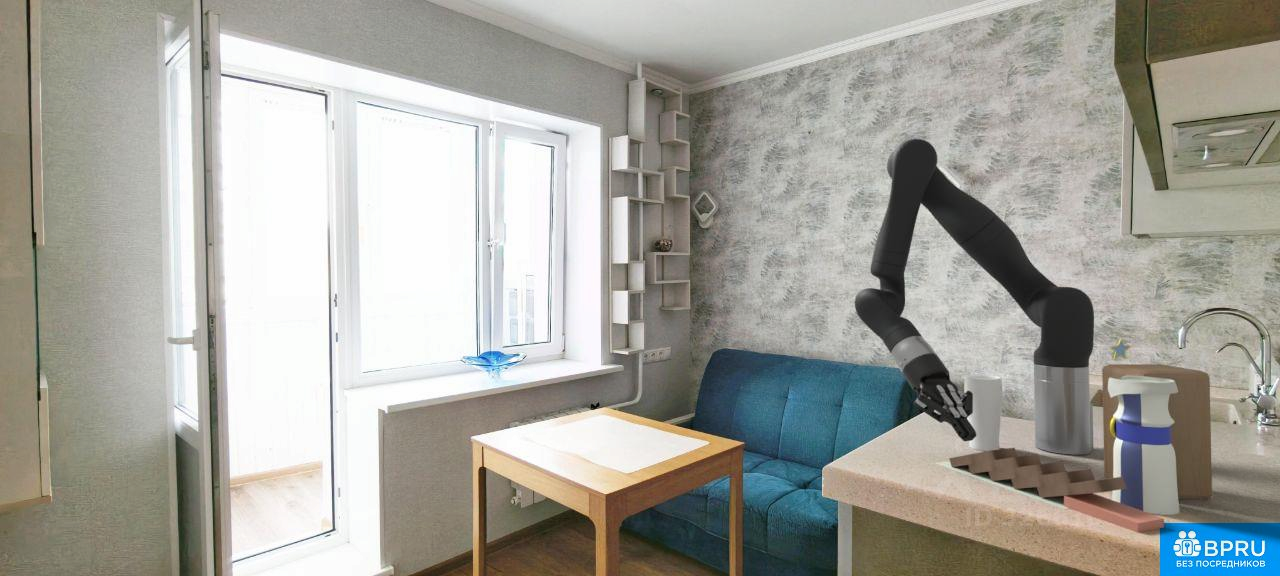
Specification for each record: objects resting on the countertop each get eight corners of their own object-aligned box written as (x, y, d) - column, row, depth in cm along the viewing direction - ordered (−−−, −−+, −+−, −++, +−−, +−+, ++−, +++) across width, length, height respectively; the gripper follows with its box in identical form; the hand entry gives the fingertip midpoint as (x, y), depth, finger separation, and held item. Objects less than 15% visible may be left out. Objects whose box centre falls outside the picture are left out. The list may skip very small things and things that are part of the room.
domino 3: (1010, 468, 102) (1062, 461, 93) (1014, 478, 102) (1066, 471, 93) (988, 471, 101) (1039, 464, 92) (991, 481, 100) (1042, 474, 91)
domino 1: (970, 455, 110) (1014, 447, 101) (973, 464, 110) (1018, 457, 101) (949, 458, 109) (992, 450, 100) (951, 467, 108) (995, 460, 99)
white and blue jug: (1095, 503, 90) (1092, 340, 91) (1127, 494, 94) (1124, 337, 94) (1160, 522, 83) (1157, 344, 83) (1192, 511, 86) (1189, 341, 87)
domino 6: (1088, 491, 90) (1163, 518, 80) (1088, 502, 90) (1163, 530, 80) (1064, 495, 88) (1137, 523, 79) (1063, 506, 88) (1137, 534, 79)
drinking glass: (957, 447, 123) (956, 375, 123) (984, 444, 125) (983, 374, 125) (983, 455, 117) (982, 380, 117) (1011, 453, 118) (1010, 378, 119)
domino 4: (1034, 475, 98) (1090, 468, 89) (1037, 485, 97) (1095, 479, 89) (1010, 478, 97) (1066, 472, 88) (1014, 489, 96) (1070, 483, 87)
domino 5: (1060, 483, 94) (1122, 476, 85) (1064, 493, 93) (1127, 488, 84) (1036, 486, 92) (1097, 480, 84) (1040, 497, 92) (1102, 492, 83)
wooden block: (1164, 481, 100) (1162, 363, 100) (1215, 502, 90) (1213, 371, 90) (1101, 480, 101) (1099, 363, 101) (1145, 500, 91) (1142, 371, 91)
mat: (963, 461, 113) (963, 459, 113) (1099, 506, 89) (1099, 503, 89) (934, 465, 111) (934, 463, 111) (1064, 511, 87) (1064, 509, 87)
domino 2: (989, 461, 106) (1037, 454, 97) (993, 470, 106) (1041, 463, 97) (968, 464, 105) (1014, 456, 96) (971, 473, 104) (1018, 467, 95)
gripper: (901, 353, 114) (953, 430, 103) (955, 350, 118) (1011, 424, 107) (883, 377, 119) (930, 453, 108) (935, 373, 123) (986, 446, 112)
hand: (970, 438), depth 107 cm, fingers closed
